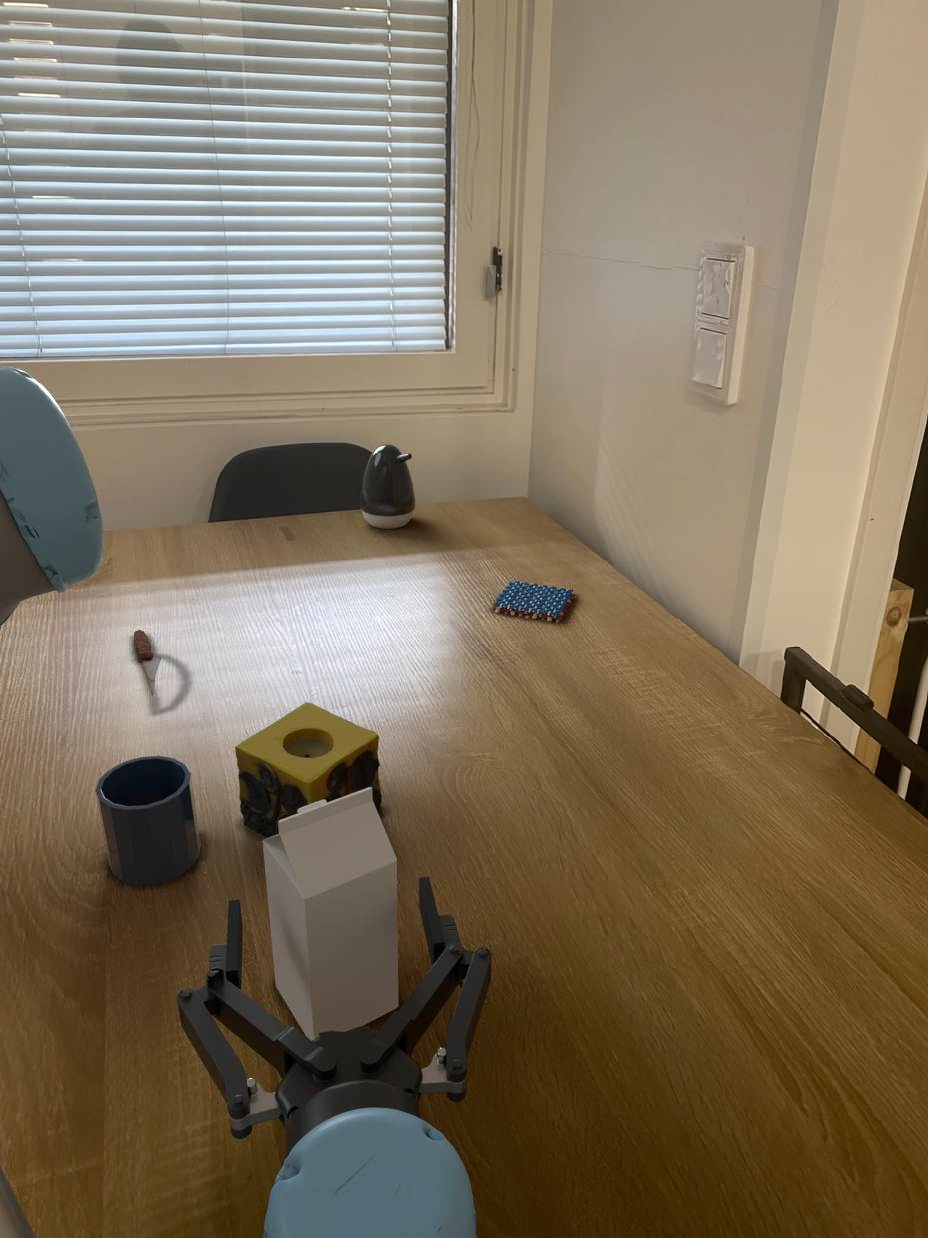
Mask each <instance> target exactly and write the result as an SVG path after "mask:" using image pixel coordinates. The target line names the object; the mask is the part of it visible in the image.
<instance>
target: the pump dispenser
mask: <svg viewBox="0 0 928 1238" xmlns="http://www.w3.org/2000/svg"><path fill="white" fill-rule="evenodd" d="M412 458H413V454H412V453H410V452H409V453H404V454H403V453H402V451H401V450H400V449H399V448H398V446H396V445H393V444H390V443H384V444H381V445H379V446H377V447H376V448H375V449H374V450H373V451H372V453H371V455H370V457H369V459H368V462H367V464H366V467H365V469H364V473H363V476H362V482H361V488H360V495H359V508H360V510H361V512H362V516H363V518H364V519H365V521H366V522H367V523H368V524H369V525H370V526H372V527H373V528H377V529H382V530H383V529H385V530H391V529H398V528H399V529H400V528H403V527H404V526H406V525H407V524H408V523H409V522H410V521H411V519H412V517H413V515H414V512H415V510H416V508H417V501H416V493H415V492H416V491H415V486H414V482H413V478H412V475H411V471H410V468H409V465H408V463H407V461H409V460H412Z"/></svg>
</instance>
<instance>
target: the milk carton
mask: <svg viewBox="0 0 928 1238" xmlns="http://www.w3.org/2000/svg"><path fill="white" fill-rule="evenodd" d="M297 812H298V814H295V815H292V816H290V817H287V818H284V819H281V820H279V821H278V827H279V834H277V835H274V836H272V837H269V838H267V837H266V838H265V839H262V850H263V851H262V853H263V861H264V871H265V884H266V885H265V886H266V895H267V896H266V897H267V905H268V917H269V927H270V938H271V948H272V949H271V950H272V961H273V969H274V972H273V973H274V982H275V987H276V989H277V991H278V992H279V995H280V996H281V998H282V1000H283V1001H284V1002H285V1004H286V1005H287V1007H288V1009H289V1010H290V1012H291V1014H292V1015H293V1017H294V1019H295V1021H296V1022H297V1024H298V1026H299V1027H300V1028H301V1030H302V1032H303V1034H304V1035H305V1036H306V1037H307V1038H309V1039H310V1040H311V1041H312V1040H314V1039H315V1038H318V1037H319V1033H321V1032H328V1031H339V1032H346V1031H348V1030H351V1029H354V1028H356V1027H361V1026H366V1025H367V1024H369V1023H371V1022H372V1021H375V1020H376V1019H378V1018H381V1017H383V1016H384V1015H386V1014H389V1013H390V1012H392V1011H393V1010H396V1009H397V1008H399V944H398V943H399V941H398V940H399V937H398V936H399V935H398V934H399V933H398V930H399V927H398V925H399V924H398V858H397V856H396V853H395V851H394V848H393V846H392V844H391V841H390V839H389V836H388V834H387V832H386V829H385V826H384V824H383V822H382V820H381V817H380V815H378V812H377V810H376V807H375V805H374V802H373V799H372V788H371V787H369V788H366V789H363V790H360V791H358V792H355V793H352V794H350V795H347V796H344V797H341V798H339V799H336V800H333V801H331V802H328V803H327V802H326V800H321V801H318V802H315V803H312V804H310V805H307V806H304V807H302V808H299V809H298V810H297Z"/></svg>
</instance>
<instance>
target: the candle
mask: <svg viewBox="0 0 928 1238" xmlns="http://www.w3.org/2000/svg"><path fill="white" fill-rule="evenodd" d="M379 740H380V736H379V734H378V733H377V732H376V731H374V730H371V729H368V728H366V727H363V726H360V725H358V724H356V723H354V722H352V721H350V720H347V719H345V718H343V717H341V716H339V715H337V714H334V713H332V712H331V711H328V710H326V709H325V708H322V707H320V706H317V705H316V704H314V703H313V702H307V701H305V702H304V703H303V704H301V705H299V706H298V707H297V708H295V709H293V710H291V711H290V712H288V713H287V714H285V715H284V716H282V717H281V718H279V719H277V720H275V721H274V722H273V723H271V724H269V725H267V726H266V727H265V728H263V729H260V731H257V732H256V733H255V734H252V735H251V736H249V737H247V738H246V739H244V740H242V742H239V743H238V744H237V745H235V746H234V751H235V752H234V753H235V757H236V766H237V769H238V775H237V777H238V784H239V795H238V796H239V801H240V804H239V810H240V811H239V812H240V814H241V815H242V817H243V818H242V820H243V823H242V824H243V825H244V827H247V828H249V829H250V830H252V831H254V832H255V833H257V834H259V835H261V836H263V837H266V839H267V838H269V837H272V836H274V835H277V834H279V827H278V821H279V820H281V819H284V818H287V817H290V816H292V815H295V814H298V812H297V810H298V809H299V808H302V807H304V806H307V805H310V804H312V803H315V802H318V801H321V800H326V802H327V803H328V802H331V801H333V800H336V799H339V798H341V797H344V796H347V795H350V794H352V793H355V792H358V791H360V790H363V789H366V788H369V787H371V788H372V799H373V802H374V805H375V807H376V810H377V812H378V815H379V816H381V815H382V812H383V808H382V806H381V805H382V801H383V799H382V798H383V795H382V791H381V789H382V788H381V781H380V774H379V769H380V766H381V764H380V761H379V754H378V752H379V745H380V744H379V742H380V741H379Z"/></svg>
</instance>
